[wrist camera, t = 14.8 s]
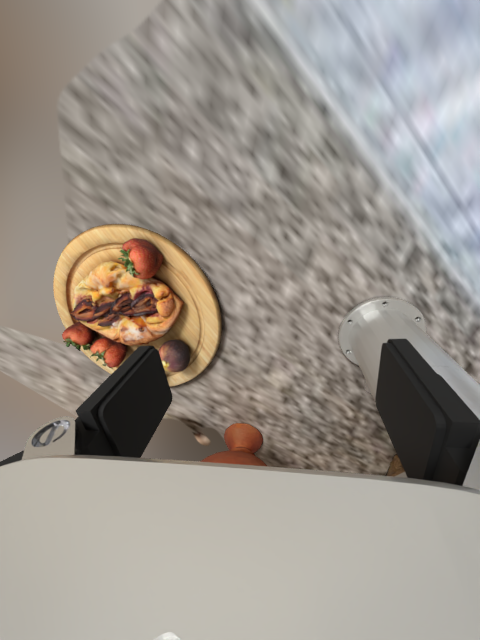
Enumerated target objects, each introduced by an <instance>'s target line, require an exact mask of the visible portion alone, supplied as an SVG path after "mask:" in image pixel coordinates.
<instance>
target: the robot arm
mask: <svg viewBox="0 0 480 640" xmlns="http://www.w3.org/2000/svg"><path fill="white" fill-rule="evenodd" d="M383 302H384V303H383ZM348 320H350V321H348ZM426 330H427V327H426V321H425V319H424V317H423V315H422V314H421V312H420V311H419V310H418V309H417V308H416V307H415V306H413V305H412V304H410V303H409V302H407V301H405V300H402V299H399V298H394V297H380V298H374V299H371V300H368V301H365V302H363V303H361V304H359V305H357V306H356V307H355V308H353V309H352V310H351V311H350V312H349V313H348V314H347V315H346V316H345V318H344V319H343V321H342V322H341V325H340V328H339V332H338V341H339V345H340V348H341V350H342V352H343V353H344V355H345V356H346V357H347V358H348V359H349V360H350V361H351V362H353V363H355V364H356V365H359V366H360V369H361V371H362V373H363V375H364V378H365V380H366V381H365V391H366V392H367V393H370V394H372V396H373V398H374V400H375V403H376V406H377V409H378V411H379V413H380V416H381V418H382V420H383V423H384V425H385V427H386V429H387V432H388V434H389V436H390V439H391V441H392V443H393V446H394V448H395V450H396V452H397V455H398V457H399V459H400V462H401V464H402V466H403V468H404V471H405V472H403V473H401V474H399V475H397V476H395V477H392V476H381V475H370V474H359V473H348V472H335V471H321V470H308V469H295V468H282V467H268V466H254V465H240V464H226V463H211V462H197V461H182V460H166V459H151V458H140V457H141V456H142V454H143V452H144V450H145V448H146V447H147V445H148V443H149V441H150V440H151V437H152V436H153V434H154V432H155V431H156V429H157V427H158V425H159V423H160V422H161V420H162V418H163V416H164V415H165V413H166V411H167V409H168V407H169V406H170V404H171V402H172V393H171V390H170V387H169V383H168V380H167V377H166V374H165V370H164V367H163V364H162V360H161V357H160V354H159V351H158V349H155V347H154V346H140V347H138V348H137V349H136V350H135V351H134V352H133V353H132V354H131V355H130V356H129V357H128V358H127V359H126V360H125V361H124V362H123V363H122V364H121V365H120V366H119V367H118V368H117V369H116V370H115V371H114V372H113V373H112V374H111V375H110V376H109V377H108V378H107V379H106V380H105V381H104V382H103V383H102V384H101V386H100V387H99V388H98V389H97V390H96V391H95V392H94V393H93V394H92V395H91V396H90V397H89V398H88V399H87V400H86V401H85V402H84V403H83V404H82V405H81V406H80V407H79V408H78V409H77V410H76V412H77V414H78V416H79V417H78V418H77V419H76V420H74V419H73V418H72V417H60V418H57V419H54V420H52V421H50V422H48V423H46V424H44V425H43V426H41V427H39V428H38V429H37V430H36V431H35V432H34V433H33V434H32V435H31V436H30V437H29V438H28V440H27V442H26V445H25V449H24V451H22V452H20V453H18V454H15V455H13V456H12V457H9V458H7V459H5V460H3V461H1V462H0V640H480V385H479V384H478V383H477V382H476V381H475V380H474V379H473V378H472V377H471V376H470V375H469V374H468V373H467V372H466V371H465V370H464V369H463V368H462V367H461V366H459V365H458V364H457V363H456V362H455V361H454V360H453V359H452V358H451V357H450V356H449V355H448V354H447V353H446V352H445V351H444V350H443V349H442V348H441V347H440V346H439V345H438V344H437V343H436V342H434V341H433V340H432V339H431V338H430V337H429V336H428V335H427V334H426Z"/></svg>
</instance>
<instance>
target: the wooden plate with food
mask: <svg viewBox="0 0 480 640" xmlns="http://www.w3.org/2000/svg"><path fill="white" fill-rule="evenodd" d="M54 297H55V302H56V306H57V309H58V312H59V315H60V318H61V320H62V323H63V324H64V326H65V328H66V330H65V331H64V332H63V334H62V336H63V339H64V340H65V341H64V342H67V345H66V346H67V347H69V346H70V344H72V345H73V346H75V347H76V346H77V347H76V349H78V350H79V351H80V349H81V351H82V352H83V353H84V354H85V355H86V356H88V357H89V358H90V359H91V360H92V361H93V362H94V363H96V364H97V365H98V366H100V367H101V368H102V369H104V370H105V371H107V372H109V373H110V374H112V373H113V372H114V371H115V370H116V369H117V368H118V367H119V366H120V365H121V364H122V363H123V362H124V361H125V360H126V359H127V358H128V357H129V356H130V355H131V354H132V353H133V352H134V351H135V350H136V349H137V348H138V347H140V346H154V347H155V349H158V351H159V354H160V357H161V360H162V364H163V367H164V370H165V374H166V377H167V380H168V383H169V387H171V386H176V385H180V384H183V383H185V382H187V381H190V380H192V379H193V378H195V377H196V376H198V375H199V374H200V373H202V372H203V371H204V370H205V369H206V368H207V366H208V365H209V364H210V363H211V361H212V360H213V358H214V356H215V354H216V352H217V350H218V347H219V344H220V340H221V333H222V321H221V313H220V308H219V303H218V300H217V298H216V295H215V292H214V290H213V288H212V286H211V284H210V282H209V280H208V279H207V277H206V276H205V274H204V273H203V271H202V270H201V268H200V267H199V266H198V265H197V264H196V262H195V261H194V260H193V259H192V258H191V257H190V256H189V255H188V254H187V253H186V252H185V251H184V250H182V249H181V248H180V247H179V246H177V245H176V244H175V243H173V242H171V241H170V240H168V239H167V238H165V237H163V236H161V235H160V234H158V233H155V232H153V231H150V230H148V229H145V228H141V227H138V226H133V225H125V224H108V225H102V226H97V227H94V228H91V229H89V230H87V231H85V232H83V233H81V234H79V235H78V236H77V237H75V238H74V239H73V240H71V241H70V242H69V243H68V245H67V246H66V247H65V249H64V250H63V252H62V253H61V255H60V257H59V260H58V262H57V265H56V268H55V273H54Z"/></svg>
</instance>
